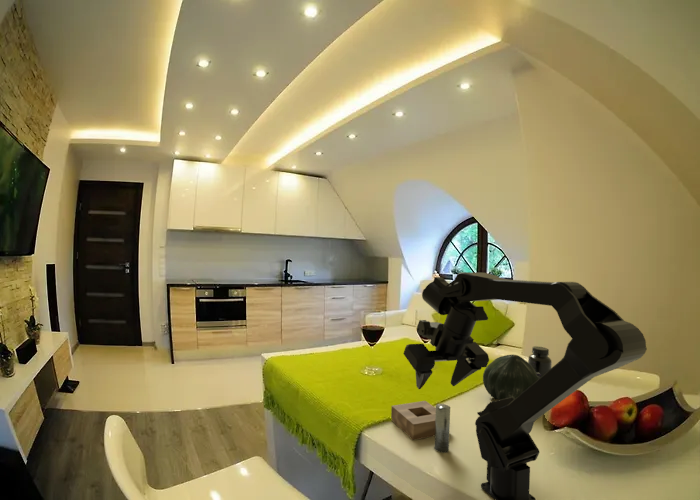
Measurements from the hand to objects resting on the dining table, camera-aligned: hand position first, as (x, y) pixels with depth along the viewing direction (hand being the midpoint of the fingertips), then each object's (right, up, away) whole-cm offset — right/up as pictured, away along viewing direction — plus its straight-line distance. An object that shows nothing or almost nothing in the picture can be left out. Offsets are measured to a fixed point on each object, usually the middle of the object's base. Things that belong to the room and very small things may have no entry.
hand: (435, 386), depth 79 cm
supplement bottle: (+44, -14, +39) cm, 60 cm away
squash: (+28, -14, +23) cm, 39 cm away
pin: (+1, -12, -3) cm, 13 cm away
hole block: (-2, -12, +7) cm, 14 cm away
